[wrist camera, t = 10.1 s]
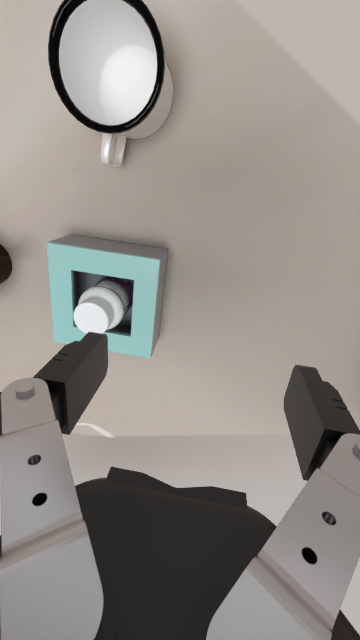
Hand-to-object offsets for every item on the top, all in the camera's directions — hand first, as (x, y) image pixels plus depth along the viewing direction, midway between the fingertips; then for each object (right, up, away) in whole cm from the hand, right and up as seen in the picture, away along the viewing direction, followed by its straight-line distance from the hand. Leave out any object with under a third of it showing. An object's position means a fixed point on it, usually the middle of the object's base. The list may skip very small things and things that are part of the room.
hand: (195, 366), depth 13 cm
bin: (-9, +6, +28) cm, 31 cm away
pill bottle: (-9, +6, +28) cm, 30 cm away
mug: (-6, +25, +19) cm, 32 cm away
